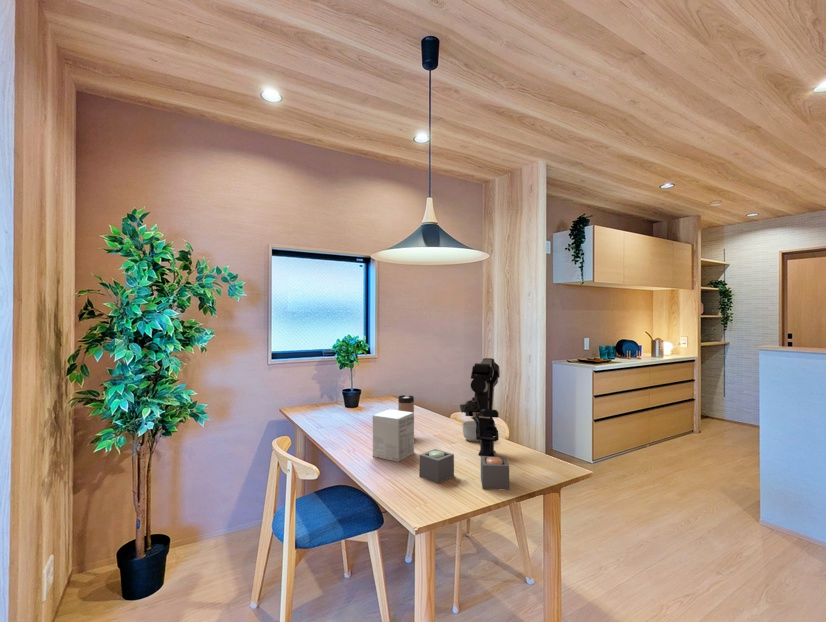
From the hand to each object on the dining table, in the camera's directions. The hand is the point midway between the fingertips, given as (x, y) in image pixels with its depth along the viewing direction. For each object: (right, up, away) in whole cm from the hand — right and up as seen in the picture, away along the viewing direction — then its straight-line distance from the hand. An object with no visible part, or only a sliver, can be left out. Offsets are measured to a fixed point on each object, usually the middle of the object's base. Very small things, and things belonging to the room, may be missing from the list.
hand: (480, 436), depth 157 cm
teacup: (+4, -13, +39) cm, 41 cm away
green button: (-17, -7, -7) cm, 20 cm away
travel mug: (-29, -13, +40) cm, 52 cm away
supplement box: (-34, -13, +17) cm, 40 cm away
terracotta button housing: (+3, -12, -14) cm, 19 cm away
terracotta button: (+3, -7, -14) cm, 16 cm away
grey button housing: (-17, -12, -7) cm, 22 cm away
